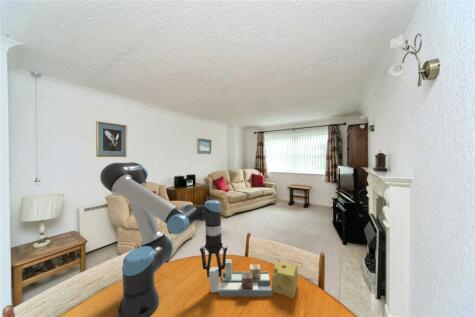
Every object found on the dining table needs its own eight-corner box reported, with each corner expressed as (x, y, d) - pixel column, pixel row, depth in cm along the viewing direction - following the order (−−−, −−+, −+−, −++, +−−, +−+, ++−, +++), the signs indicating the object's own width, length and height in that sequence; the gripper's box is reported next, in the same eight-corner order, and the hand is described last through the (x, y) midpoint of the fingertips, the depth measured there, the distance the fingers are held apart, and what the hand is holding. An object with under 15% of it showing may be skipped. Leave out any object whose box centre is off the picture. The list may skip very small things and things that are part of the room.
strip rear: (225, 282, 89) (225, 263, 89) (226, 275, 94) (226, 258, 94) (269, 281, 88) (269, 263, 88) (268, 275, 93) (267, 258, 93)
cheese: (271, 292, 83) (270, 270, 83) (277, 278, 92) (277, 259, 92) (294, 300, 78) (294, 276, 78) (298, 284, 87) (298, 264, 88)
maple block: (250, 279, 89) (250, 269, 89) (250, 274, 93) (249, 264, 93) (260, 279, 89) (260, 269, 89) (259, 273, 93) (259, 264, 93)
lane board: (219, 296, 81) (219, 290, 81) (223, 276, 95) (222, 271, 95) (272, 296, 80) (272, 290, 80) (268, 276, 94) (268, 271, 94)
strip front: (210, 292, 82) (210, 272, 83) (212, 284, 87) (212, 266, 88) (258, 292, 81) (257, 272, 82) (257, 284, 86) (257, 265, 87)
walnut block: (242, 289, 82) (241, 278, 82) (242, 283, 86) (241, 272, 87) (252, 289, 82) (252, 278, 82) (252, 283, 86) (252, 272, 86)
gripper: (194, 236, 82) (195, 288, 81) (229, 236, 81) (230, 288, 81) (198, 230, 89) (199, 278, 89) (230, 230, 89) (232, 278, 88)
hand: (214, 283), depth 85 cm, fingers closed on strip front, 3 cm apart
